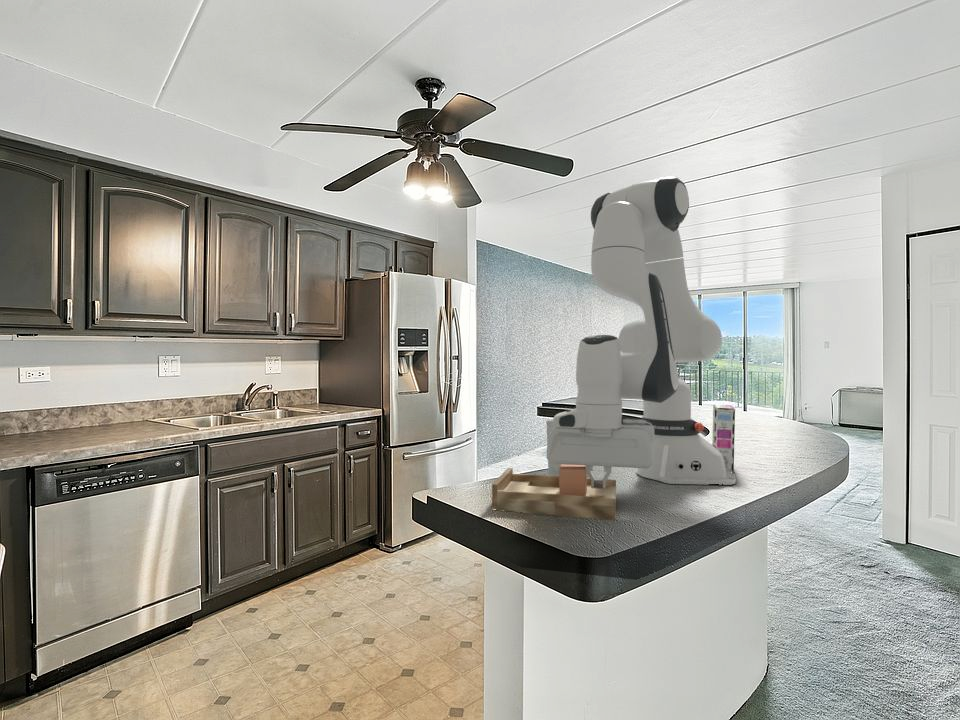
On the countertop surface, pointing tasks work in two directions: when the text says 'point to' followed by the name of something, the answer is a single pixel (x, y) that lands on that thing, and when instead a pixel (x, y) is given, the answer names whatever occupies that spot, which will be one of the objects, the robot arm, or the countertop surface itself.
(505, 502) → the wooden tray
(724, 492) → the countertop surface
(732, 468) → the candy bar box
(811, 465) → the countertop surface
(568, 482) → the block
